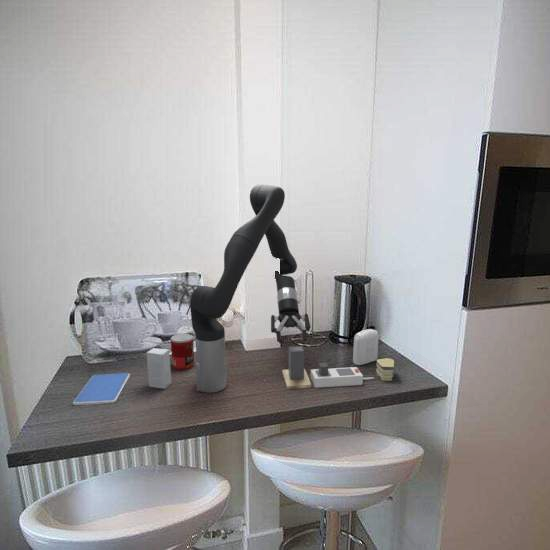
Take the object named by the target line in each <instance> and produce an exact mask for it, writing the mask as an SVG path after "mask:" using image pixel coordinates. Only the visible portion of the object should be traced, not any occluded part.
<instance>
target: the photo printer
mask: <svg viewBox="0 0 550 550" xmlns="http://www.w3.org/2000/svg"><path fill="white" fill-rule="evenodd" d="M379 336H380V335H379V332H378V330H375V329H373V328H368V329H363V330H361V331H359V332H356V333H355V335H354V337H353V351H352V353H353V354H352V363H353V364H354V365H356V366H362V365H363V366H364V365H366V364H369V363H372V362H375V361H377V360H378V356H379V355H378V354H379V340H380V337H379Z"/></svg>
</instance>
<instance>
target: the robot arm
mask: <svg viewBox="0 0 550 550" xmlns="http://www.w3.org/2000/svg"><path fill="white" fill-rule="evenodd" d="M285 196H286V194H285V191H284V189H283V188H282V187H280V186H276V185H269V184H255V185H254V186H253V187H252V188H251V190H250V193H249V202H250V205H251V208H252V210H253V212H254V214H255V216H254V217H253V218H252V219H250V220H249V221H247V222H246V223H244V224H243V225H241V226H240V227H239V228H238V229H236V231H234V233H233V234H232V236H231V237H230V239H229V241H228V243H227V245H226V246H225V249H224V251H223V252H224V253H223V272H222V274H221V277H220V279H219V281H217V284H216V285H215V287H213V286H208V285H207V286H206V285H200V286H197V287H196V288H195V289H194V290H193V291H192V293H191V296H190V301H189V307H190V309H189V310H190V317H191V326H192V329H193V332H194V337H195V352H196V353H195V355H196V357H195V358H196V360H195V361H196V362H195V371H196V372H195V373H196V391H197V392H202V393H207V394H208V393H209V394H211V393H218V392H220V391H222V390H224V389H225V388H226V387H227V364H226V362H227V361H226V335H225V334H226V333H225V327H224V326H223V324H222V323H220V322H219V319H221V318H222V317H223V316H224V315H225V314H226V313H227V311H228V310H229V307H230V305H231V303H232V301H233V298H234V296H235V294H236V291H237V288H238V286H239V284H240V282H241V280H242V278H243V276H244V273H245V272H246V270H247V268H248V266H249V264H250V262H251V260H252V259H253V257H254V255H255V253H256V252H257V250H258V248H259V246H260V243H261V242H262V239H263V238H264V236H265V238H266V242H267V244H268V249H269V251H271V252H270V255H271V254H272V255H271V256H272V257H273V259H277V258H279V259H280V274H279V272H278V271H275V277H274V280H275V279H276V280H275V283H276V293H277V296H276V298H277V308H278V315H277V316H276V315H274V314H271V316H270V332H271V333H272V334H273V333H274V334H276V341H277V342H278V343H279V344H282V332H281V331H282V330H283V329H284V328H286V329H287V328H296V329H298V330H299V331H300V332H301V333H300V334H301V340H302V343H305V342H306V341H307V339H308V338H307V336H308V335H307V332H309V331H311V322H310V318H309V313H305V314H300V309H299V303H298V302H299V301H298V295H297V291H296V284H295V280H294V278H293V277H292V276H290V274H291V275H292V274H294V273H296V271H297V268H298V264H297V261H296V259H295V257H294V256H293V254H292V253H291V251H290V250H289V246H288V242H287V239H286V235H285V233H284V231H283V230H282V228H281V227H280V226H279V224H277V222H276V221H275V219H276V217H277V216H278V215H279V213H280V212H281V209H282V208H283V207H284V204H285V199H286V197H285ZM301 320H302V321H303V322H304V324H305V326H304V325H303V323H302V322H301ZM277 321H278V322H279V323H280V324H279V325H278V327H277V328H276V326H275V325H276V323H277Z"/></svg>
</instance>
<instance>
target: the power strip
mask: <svg viewBox="0 0 550 550" xmlns="http://www.w3.org/2000/svg"><path fill="white" fill-rule="evenodd" d="M374 379H375V377H374V376H371V377H370V376H369V377H364V375H363V374H362V372H361V371H360V370H359V368H358V367H357V366H354V367H353V366H350V367H335V368H334V367H333V368H331V367H330V368H329V365H328V364H327V362H318V368H317V369H315V368H314V369H310V381H311V384H312V386H313V387H314V388H315V389H316V388H331V387H333V388H334V387H346V386H347V387H348V386H349V387H350V386H362V385H363V382H364V381H365V380H366V381H367V380H374Z"/></svg>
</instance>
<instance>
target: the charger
mask: <svg viewBox="0 0 550 550" xmlns="http://www.w3.org/2000/svg"><path fill="white" fill-rule="evenodd" d="M288 369H289V377H290V380H298V379H304V369H305V349H304V348H303V346H302V345H301V346H288Z"/></svg>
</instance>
